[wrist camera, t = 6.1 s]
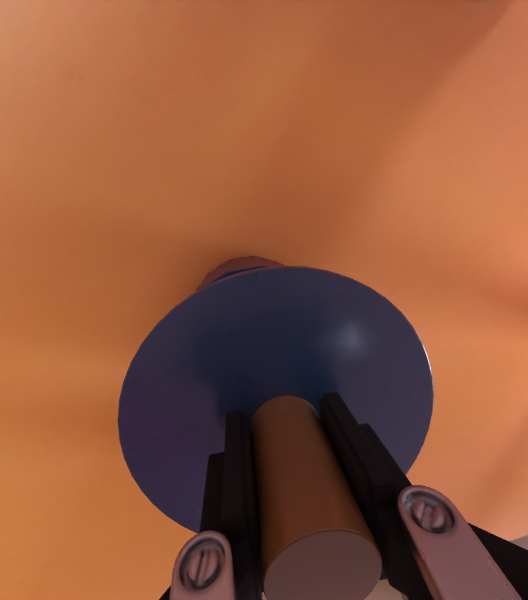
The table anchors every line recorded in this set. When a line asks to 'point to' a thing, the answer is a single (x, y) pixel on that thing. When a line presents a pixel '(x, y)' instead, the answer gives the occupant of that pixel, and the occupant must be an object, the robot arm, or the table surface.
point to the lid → (278, 413)
